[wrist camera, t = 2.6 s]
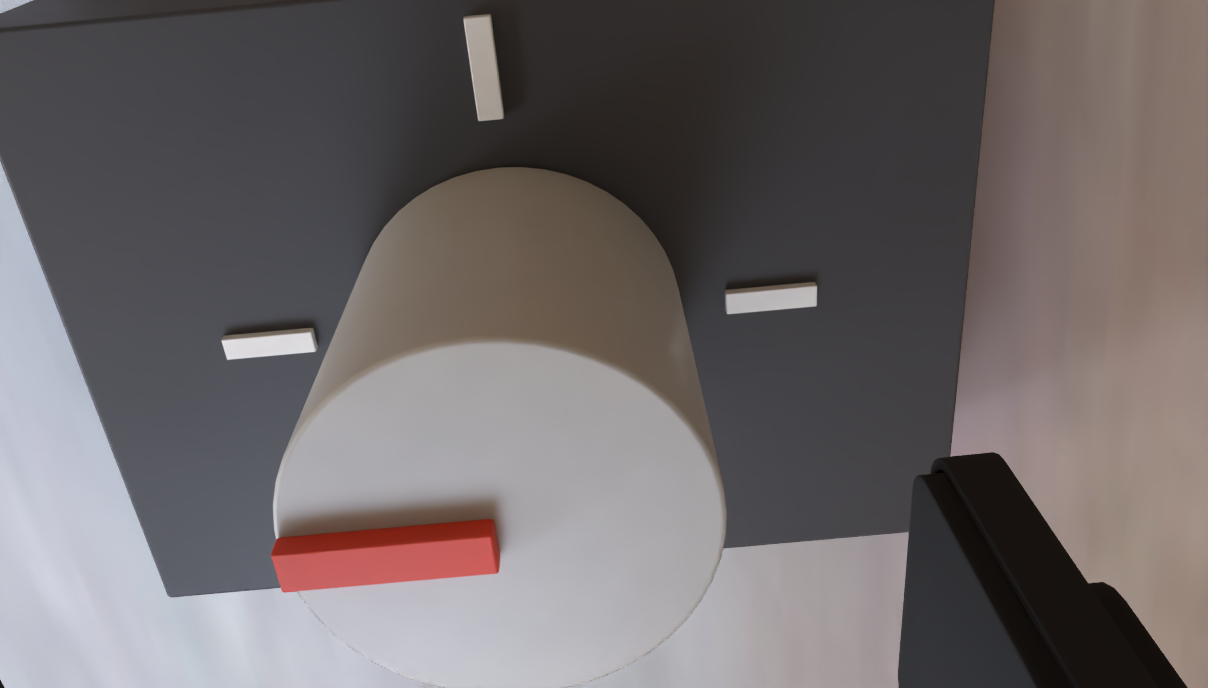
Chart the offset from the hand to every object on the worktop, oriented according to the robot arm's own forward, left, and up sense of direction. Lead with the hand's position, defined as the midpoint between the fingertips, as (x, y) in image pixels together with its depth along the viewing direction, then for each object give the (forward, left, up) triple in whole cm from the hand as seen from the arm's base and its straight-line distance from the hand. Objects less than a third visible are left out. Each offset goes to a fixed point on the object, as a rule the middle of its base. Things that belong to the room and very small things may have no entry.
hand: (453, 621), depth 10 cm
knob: (0, 0, -7) cm, 7 cm away
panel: (0, 0, -10) cm, 10 cm away
